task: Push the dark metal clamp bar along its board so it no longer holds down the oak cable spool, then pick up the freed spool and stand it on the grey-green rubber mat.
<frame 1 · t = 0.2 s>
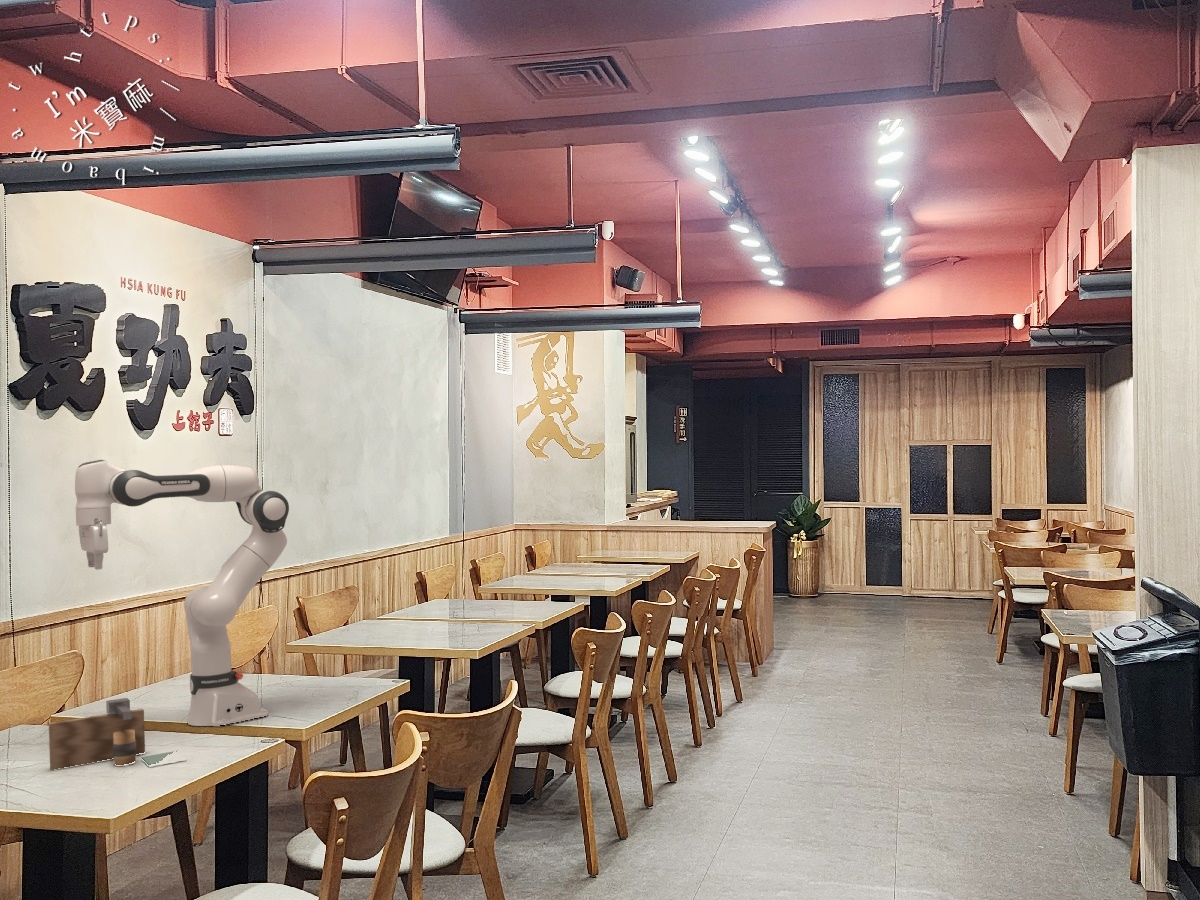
hand: (95, 568, 295), 48 cm above the table, tool pointing down, fingers open, 8 cm apart
mat: (164, 760, 270), on the table
spool: (125, 763, 269), on the table
clamp bar: (122, 709, 270), point 13 cm above the table, slide at 0.0 cm
board: (98, 761, 271), on the table
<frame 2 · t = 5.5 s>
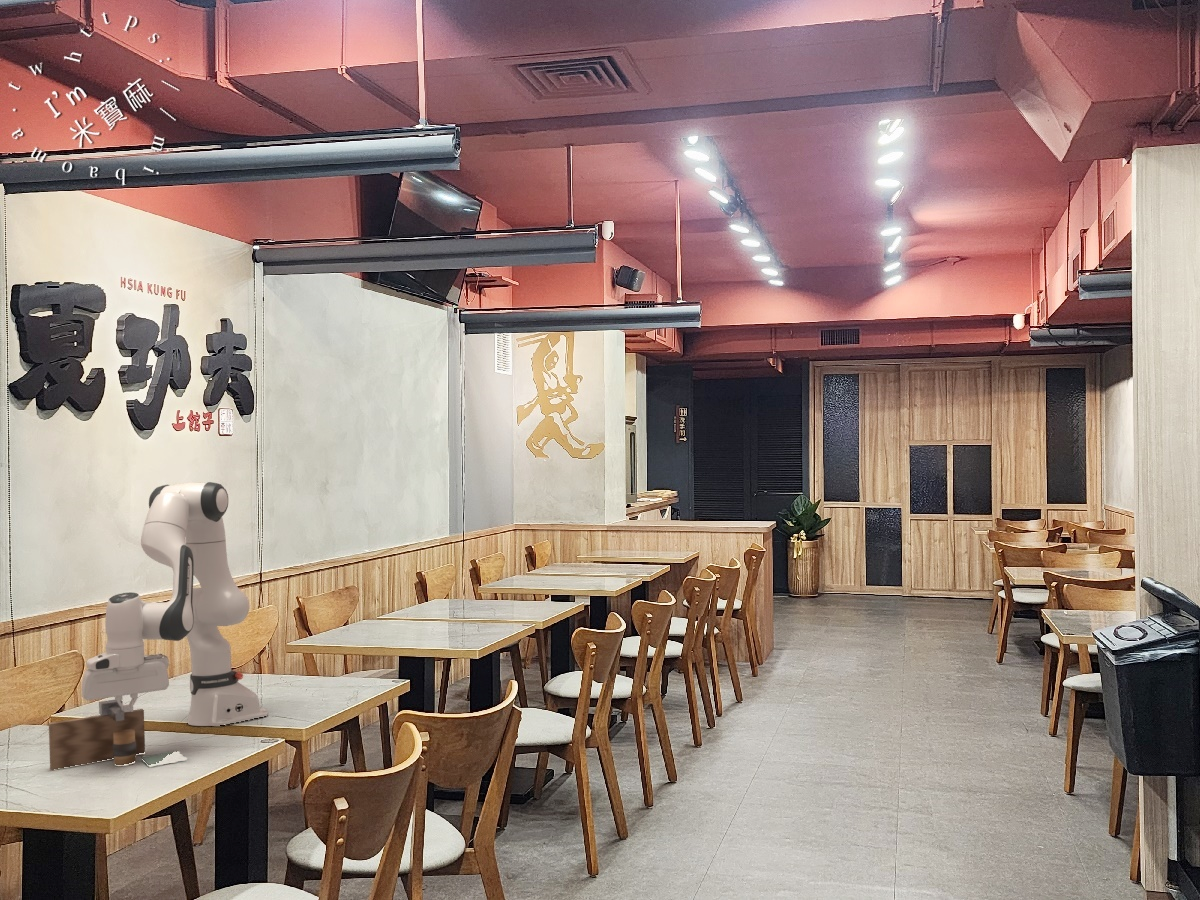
hand: (126, 712, 269), 13 cm above the table, tool pointing down, fingers closed
clamp bar: (114, 710, 269), point 13 cm above the table, slide at 1.8 cm, touching gripper
everything else where it was.
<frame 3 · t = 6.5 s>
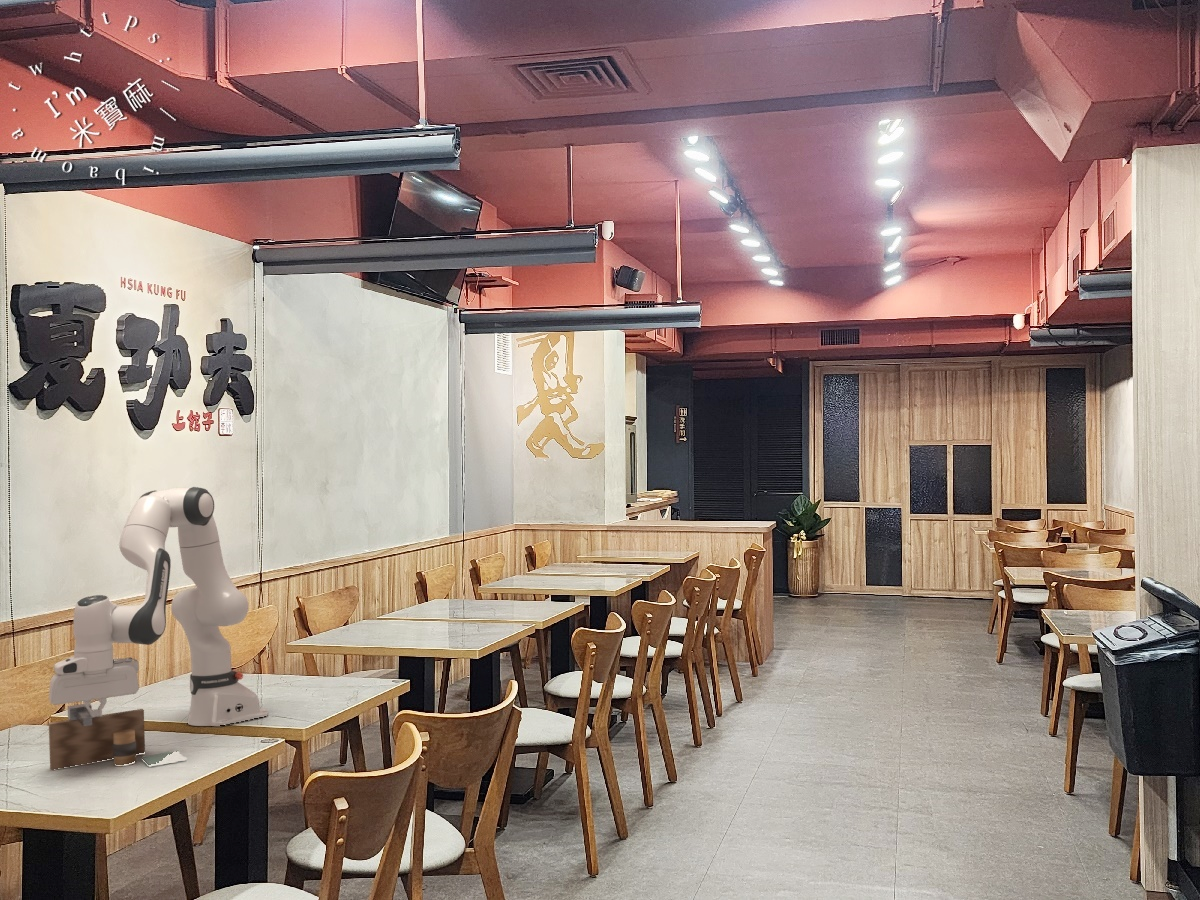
hand: (95, 717, 265), 13 cm above the table, tool pointing down, fingers closed
clamp bar: (83, 715, 265), point 13 cm above the table, slide at 9.1 cm, touching gripper
everything else where it was.
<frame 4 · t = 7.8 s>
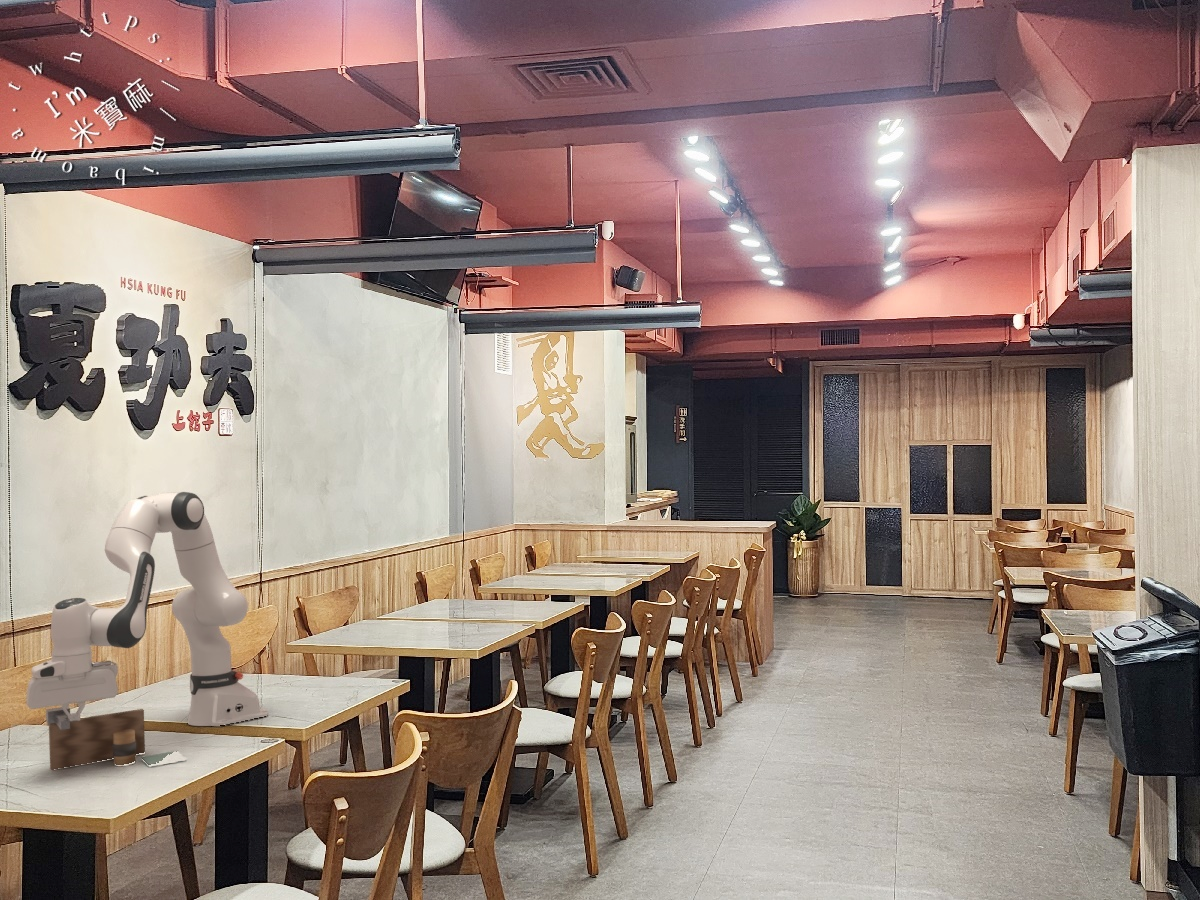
hand: (73, 721, 262), 13 cm above the table, tool pointing down, fingers closed
clamp bar: (61, 718, 262), point 13 cm above the table, slide at 14.0 cm, touching gripper
everything else where it was.
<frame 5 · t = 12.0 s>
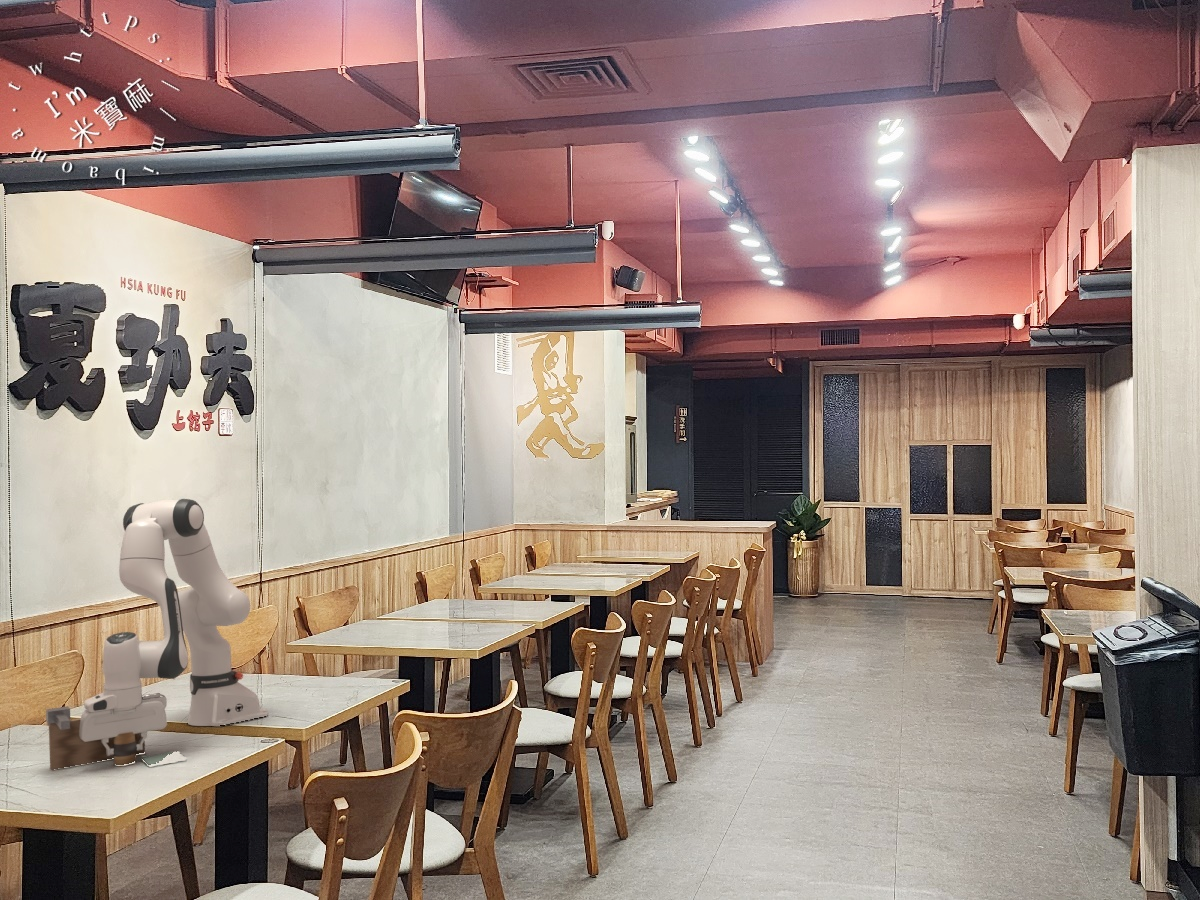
hand: (124, 752, 269), 3 cm above the table, tool pointing down, fingers closed on spool, 5 cm apart
spool: (125, 763, 269), on the table, touching gripper
clamp bar: (61, 718, 262), point 13 cm above the table, slide at 14.0 cm
everything else where it was.
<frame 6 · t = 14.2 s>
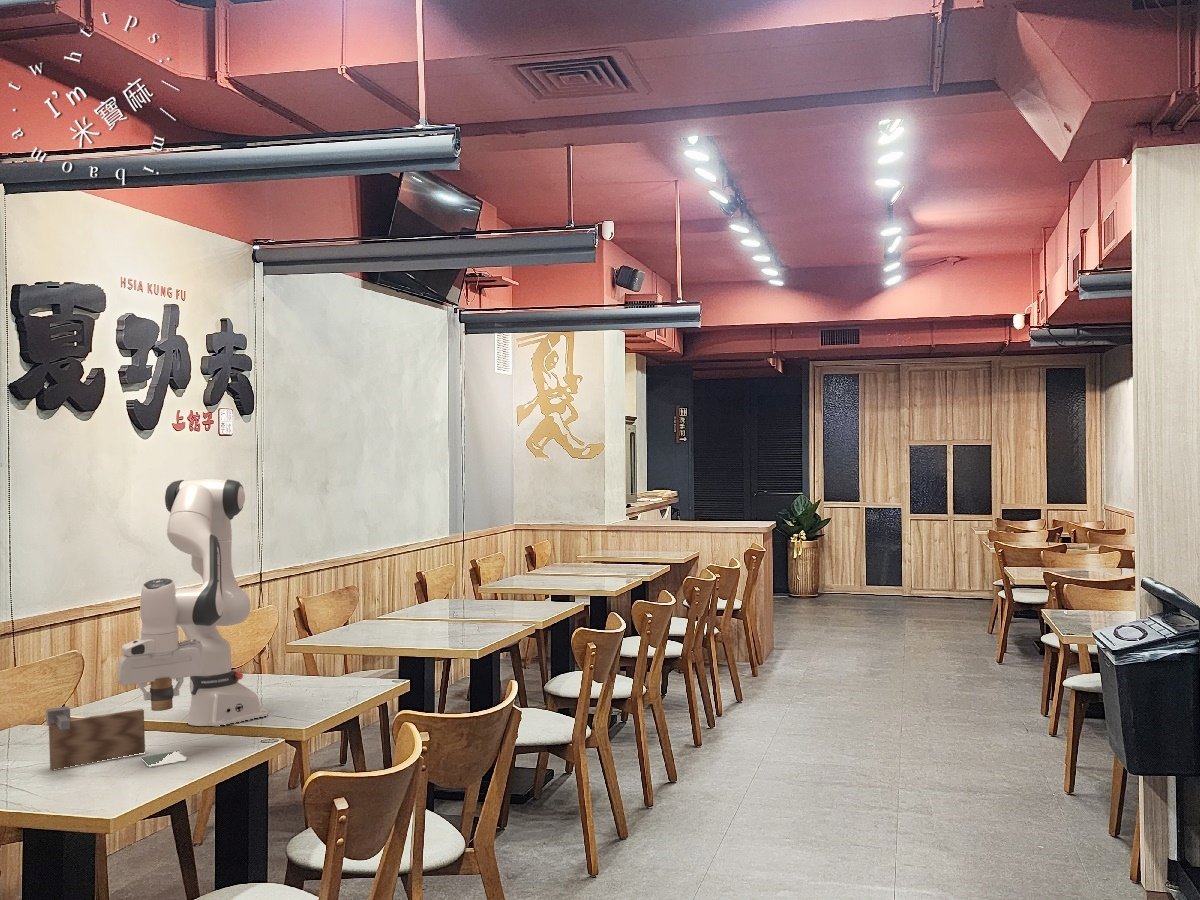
hand: (161, 697, 270), 16 cm above the table, tool pointing down, fingers closed on spool, 5 cm apart
spool: (162, 708, 270), point 13 cm above the table, touching gripper
everything else where it was.
when the fingers open (4 cm above the table, at t = 16.9 s): spool stays where it is, resting on mat.
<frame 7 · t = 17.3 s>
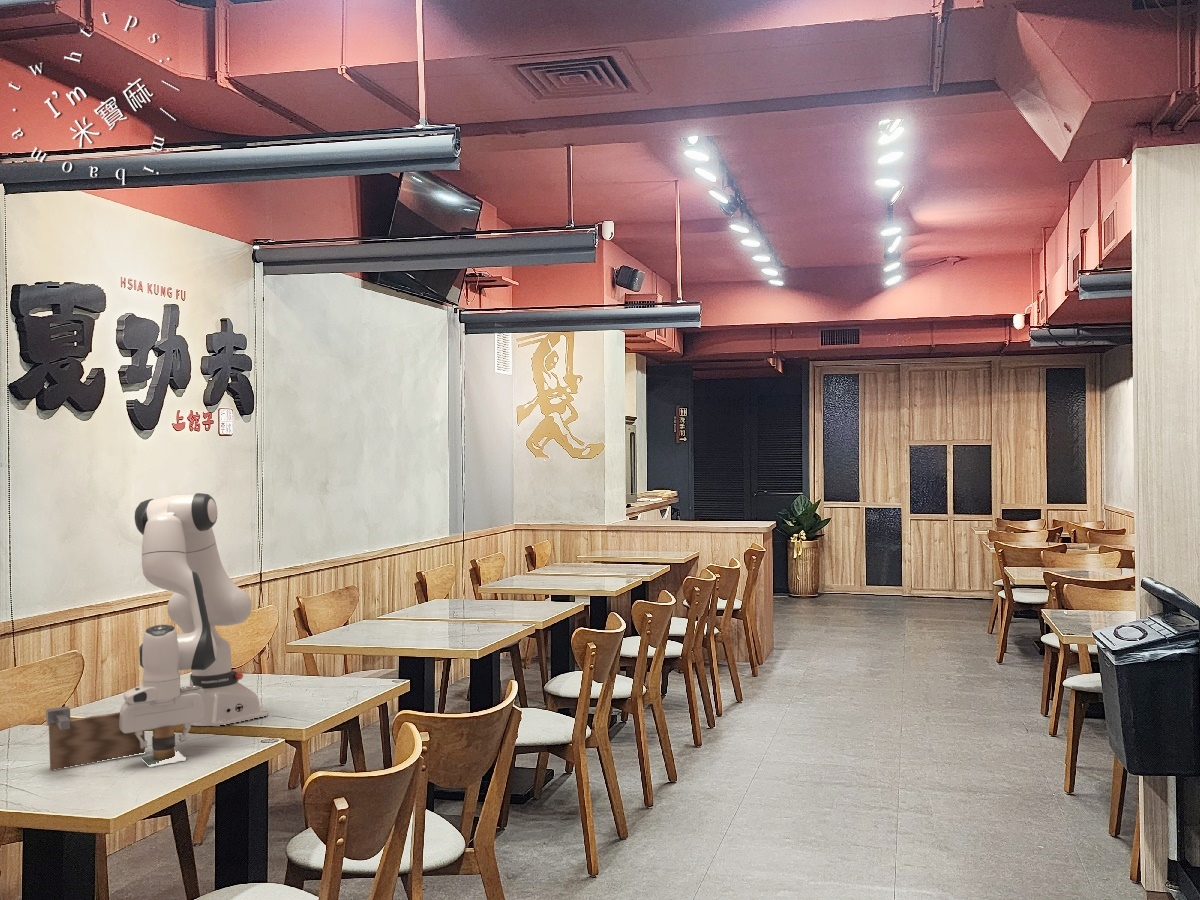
hand: (163, 744, 270), 4 cm above the table, tool pointing down, fingers open, 8 cm apart
spool: (164, 757, 270), point 1 cm above the table, touching mat
everything else where it was.
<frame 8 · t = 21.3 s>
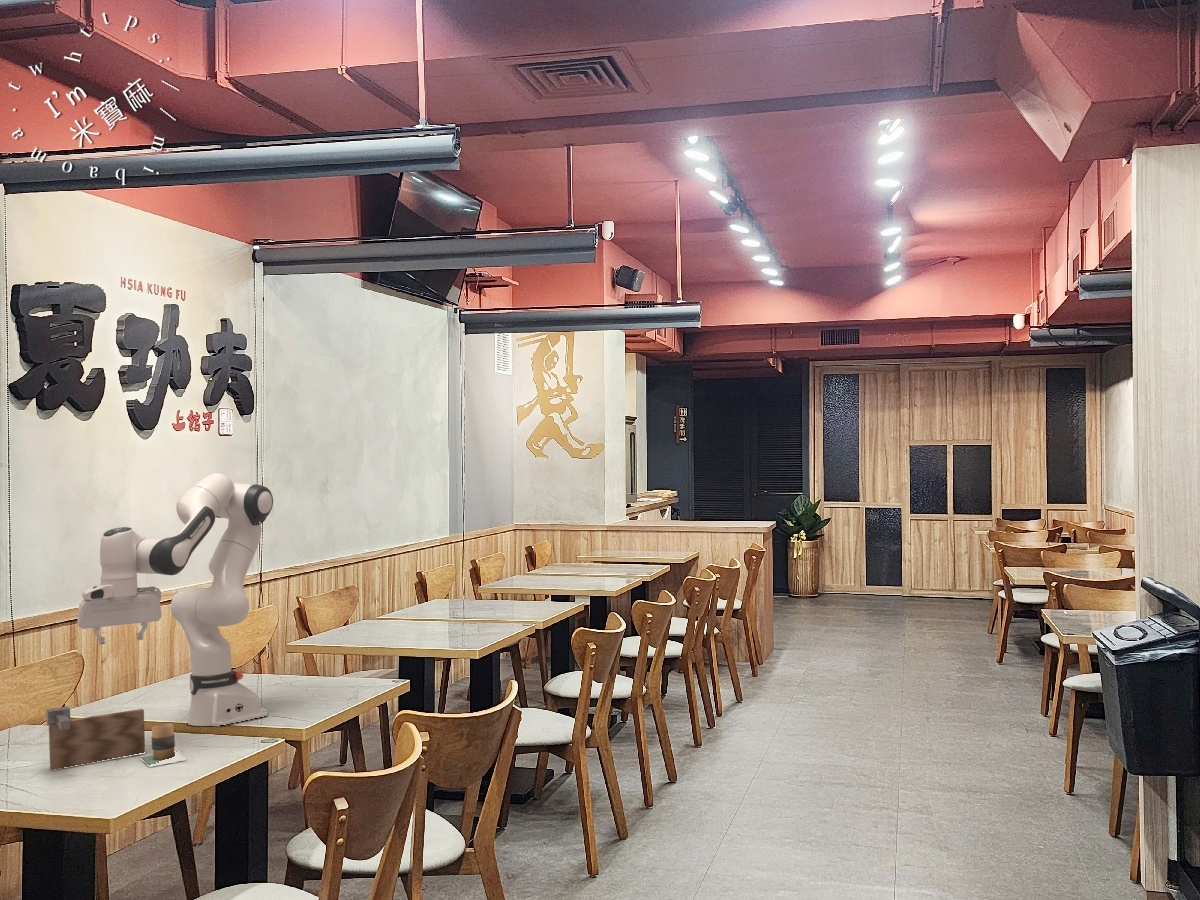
hand: (120, 641, 280), 29 cm above the table, tool pointing down, fingers open, 8 cm apart
nothing on the table moved.
at the end: clamp bar slide at 14.0 cm; spool inside the target area (0.1 cm from its centre), point 0.9 cm above the table; spool tilted 1° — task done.
